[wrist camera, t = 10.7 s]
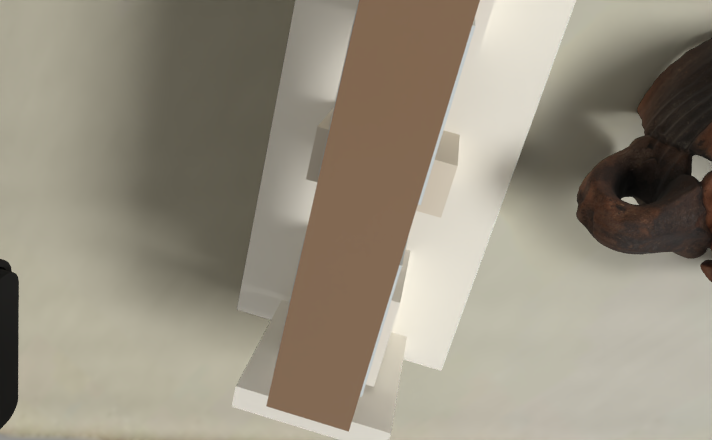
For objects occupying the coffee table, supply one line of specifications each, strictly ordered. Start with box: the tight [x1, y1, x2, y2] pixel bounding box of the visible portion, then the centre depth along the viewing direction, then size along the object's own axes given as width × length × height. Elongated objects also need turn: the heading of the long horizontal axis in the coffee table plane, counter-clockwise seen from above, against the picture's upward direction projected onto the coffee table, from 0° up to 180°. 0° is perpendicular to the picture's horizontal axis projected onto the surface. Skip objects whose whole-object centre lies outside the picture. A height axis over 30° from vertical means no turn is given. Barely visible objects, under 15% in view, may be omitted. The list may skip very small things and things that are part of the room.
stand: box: [232, 0, 576, 440], centre depth 24 cm, size 20×10×8 cm, turn 166°
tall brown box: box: [266, 0, 480, 432], centre depth 20 cm, size 14×3×4 cm, turn 166°
